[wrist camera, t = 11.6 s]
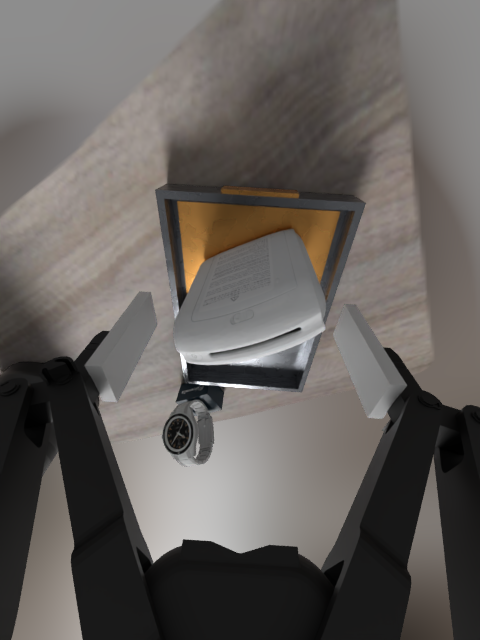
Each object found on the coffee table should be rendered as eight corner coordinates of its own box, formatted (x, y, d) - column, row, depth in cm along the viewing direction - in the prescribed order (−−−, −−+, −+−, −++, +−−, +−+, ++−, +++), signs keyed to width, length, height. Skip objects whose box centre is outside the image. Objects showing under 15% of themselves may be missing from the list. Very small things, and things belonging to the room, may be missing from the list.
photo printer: (214, 294, 26) (187, 389, 16) (195, 260, 24) (150, 346, 14) (308, 262, 23) (345, 354, 13) (297, 219, 21) (332, 292, 11)
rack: (189, 366, 35) (184, 383, 33) (166, 179, 21) (154, 185, 18) (298, 375, 35) (301, 392, 33) (354, 191, 20) (367, 198, 18)
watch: (203, 368, 35) (186, 443, 27) (228, 398, 40) (220, 472, 31) (173, 377, 37) (147, 451, 28) (200, 405, 41) (185, 476, 33)
